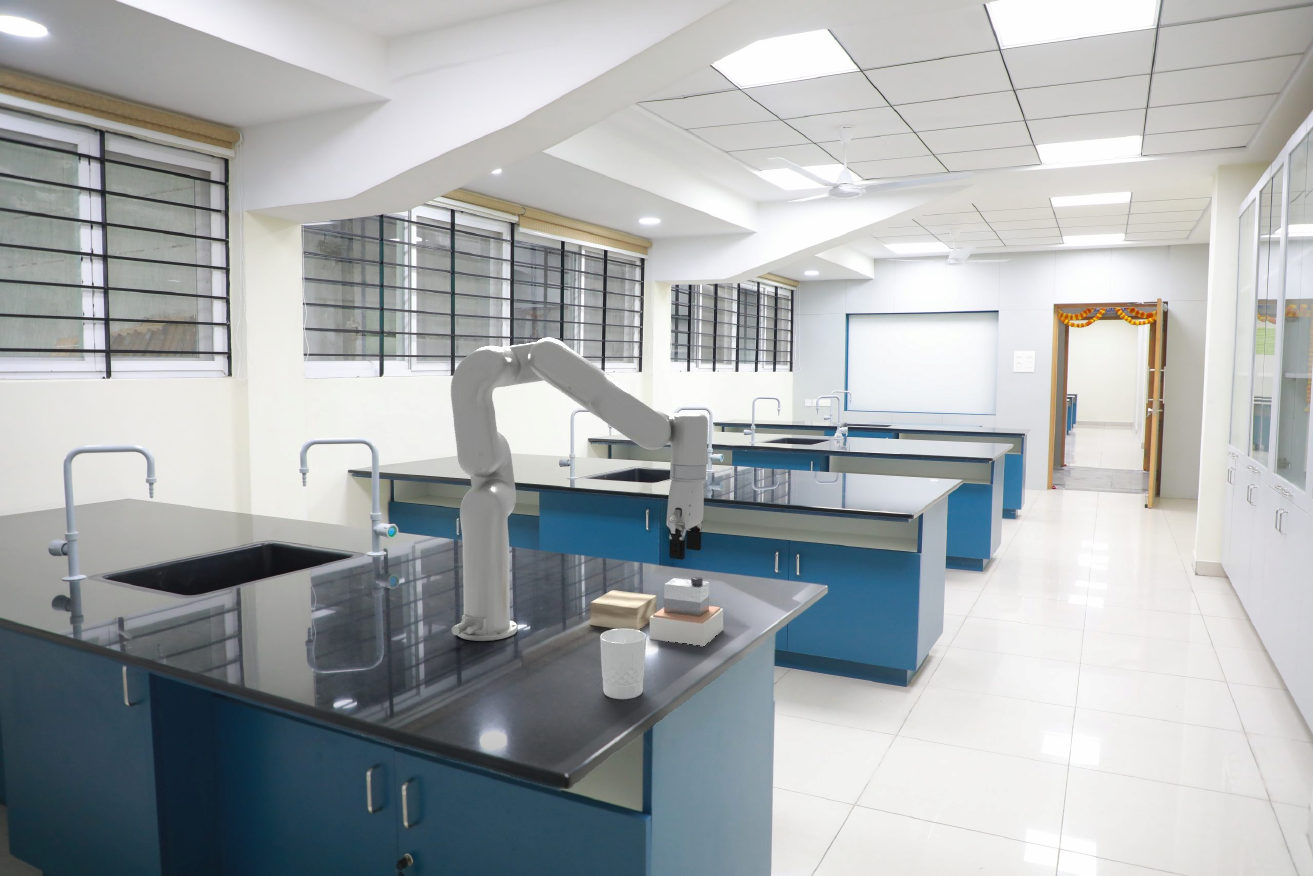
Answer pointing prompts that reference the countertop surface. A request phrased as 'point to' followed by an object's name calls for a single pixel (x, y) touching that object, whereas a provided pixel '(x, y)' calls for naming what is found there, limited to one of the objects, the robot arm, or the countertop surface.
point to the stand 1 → (623, 610)
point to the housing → (686, 596)
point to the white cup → (623, 662)
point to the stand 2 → (686, 626)
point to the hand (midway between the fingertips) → (685, 554)
